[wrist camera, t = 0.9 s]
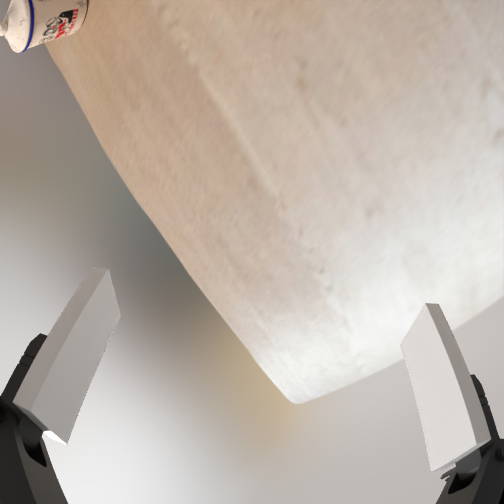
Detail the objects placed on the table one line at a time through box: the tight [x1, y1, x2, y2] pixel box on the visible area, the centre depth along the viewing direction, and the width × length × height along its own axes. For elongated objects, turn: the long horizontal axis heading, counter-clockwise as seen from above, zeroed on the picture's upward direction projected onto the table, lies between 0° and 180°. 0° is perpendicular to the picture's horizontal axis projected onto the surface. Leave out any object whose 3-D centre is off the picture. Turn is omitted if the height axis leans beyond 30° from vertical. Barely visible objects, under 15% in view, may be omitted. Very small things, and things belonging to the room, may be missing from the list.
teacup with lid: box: [0, 0, 87, 52], centre depth 20 cm, size 12×9×12 cm
